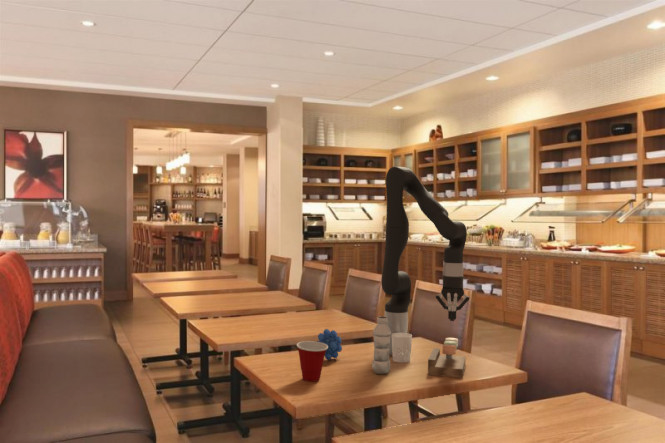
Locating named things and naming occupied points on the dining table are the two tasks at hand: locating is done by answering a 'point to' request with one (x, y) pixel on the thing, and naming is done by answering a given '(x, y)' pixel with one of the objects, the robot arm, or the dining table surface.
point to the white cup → (401, 347)
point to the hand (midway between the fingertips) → (452, 320)
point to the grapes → (330, 343)
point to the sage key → (451, 343)
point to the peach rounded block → (449, 351)
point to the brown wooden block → (445, 365)
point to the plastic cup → (311, 359)
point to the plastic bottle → (381, 346)
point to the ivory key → (452, 340)
